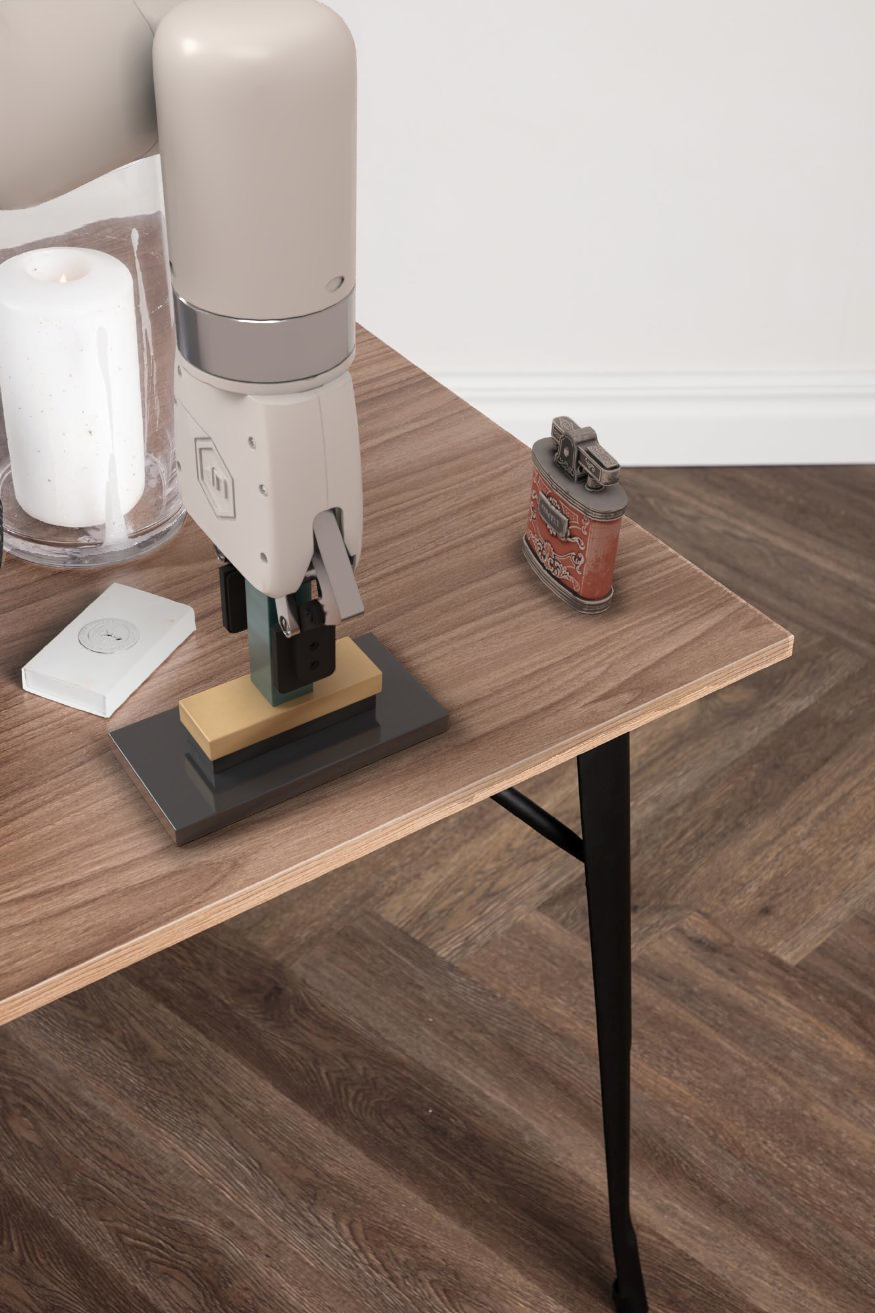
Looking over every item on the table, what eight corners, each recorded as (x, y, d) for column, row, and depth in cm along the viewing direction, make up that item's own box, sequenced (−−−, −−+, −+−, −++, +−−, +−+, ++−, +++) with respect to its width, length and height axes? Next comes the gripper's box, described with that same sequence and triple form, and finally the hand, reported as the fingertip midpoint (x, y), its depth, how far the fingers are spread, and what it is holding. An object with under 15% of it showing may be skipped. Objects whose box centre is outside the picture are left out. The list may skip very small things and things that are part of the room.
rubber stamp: (212, 779, 71) (198, 615, 64) (181, 737, 73) (164, 574, 66) (382, 708, 75) (386, 548, 68) (348, 671, 77) (348, 512, 71)
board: (177, 847, 69) (175, 831, 68) (109, 748, 74) (107, 732, 73) (449, 730, 76) (450, 713, 75) (370, 646, 81) (371, 630, 80)
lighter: (509, 545, 89) (523, 406, 82) (556, 532, 90) (572, 395, 84) (576, 619, 84) (596, 478, 77) (624, 605, 85) (648, 464, 78)
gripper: (98, 259, 63) (137, 585, 74) (285, 438, 52) (296, 783, 64) (249, 225, 66) (263, 542, 78) (454, 387, 55) (434, 724, 67)
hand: (278, 648), depth 71 cm, fingers open, 4 cm apart
